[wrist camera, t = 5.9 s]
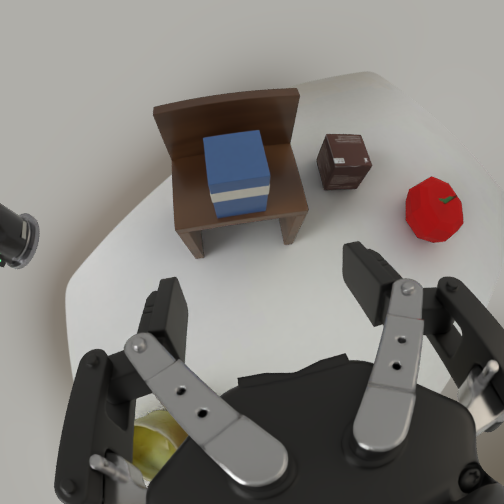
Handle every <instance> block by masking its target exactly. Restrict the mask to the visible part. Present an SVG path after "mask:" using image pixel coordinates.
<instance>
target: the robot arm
mask: <svg viewBox="0 0 504 504" xmlns="http://www.w3.org/2000/svg"><path fill="white" fill-rule="evenodd" d="M31 236H32V229H31V225H30V223H29V221H28V220H26V219H25V218H23V217H21V216H19V215H18V214H16V213H14V212H13V211H11V210H10V209H8V208H7V207H5V206H4V205H2V204H1V203H0V266H1V267H4V266H5V264H6V263H9V264H11V265H14V263H15V262H16V261H18V260H20V259H21V258H22V257H23V256H24V255H25V253H26V252H27V250H28V247H29V245H30V241H31ZM342 273H343V278H344V281H345V283H346V285H347V286H348V288H349V289H350V291H351V292H352V294H353V295H354V297H355V298H356V300H357V301H358V303H359V304H360V306H361V307H362V309H363V311H364V312H365V314H366V315H367V317H368V318H369V320H370V321H371V323H372V325H373V326H374V327H375V326H379V325H382V324H383V326H384V328H383V332H382V336H381V340H380V344H379V348H378V351H377V355H376V359H375V362H374V364H373V363H370V362H366V361H359V360H349V359H348V357H347V355H346V353H345V354H341V355H338V356H334V357H331V358H327V359H323V360H320V361H318V362H316V363H314V364H312V365H310V366H308V367H306V368H304V369H302V370H300V371H297V372H294V373H262V374H257V375H252V376H246V377H240V378H238V386H237V387H234V388H232V389H230V390H228V391H227V392H225V393H224V394H222V395H221V396H218V395H217V394H216V393H215V392H214V391H213V390H212V389H211V388H210V387H208V386H207V385H206V384H205V383H204V382H203V381H202V380H201V379H200V378H199V377H198V376H197V375H196V374H195V373H194V372H192V371H191V370H190V369H189V368H188V367H187V366H186V365H185V350H186V336H187V323H188V308H187V303H186V300H185V298H184V295H183V292H182V289H181V287H180V284H179V281H178V279H177V277H172V278H166V279H161V280H160V284H159V287H158V291H153V292H152V293H151V294H150V295H149V297H148V298H147V299H146V303H145V306H144V307H145V308H144V310H143V314H142V317H141V321H140V324H139V328H138V332H137V334H136V335H134V336H132V337H131V338H130V339H129V340H128V341H127V342H126V344H125V346H124V350H123V351H120V352H118V353H115V354H112V355H109V356H108V355H107V354H106V353H105V351H103V350H101V349H94V350H91V351H89V352H88V353H86V354H85V355H84V356H83V357H82V359H81V360H80V363H79V366H78V370H77V373H76V377H75V380H74V384H73V387H72V391H71V395H70V399H69V403H68V407H67V411H66V416H65V420H64V425H63V430H62V435H61V440H60V446H59V452H58V458H57V465H56V474H55V482H54V488H55V493H56V495H57V497H58V498H59V499H60V501H61V502H63V503H64V504H504V486H502V485H501V484H500V483H498V482H497V481H495V480H494V479H493V478H491V477H490V476H489V475H488V474H487V473H486V472H485V471H484V470H483V469H482V467H481V466H480V463H479V460H478V456H477V448H476V436H478V435H479V434H481V433H482V432H492V431H494V430H495V429H497V428H498V427H499V426H500V425H501V424H502V423H503V422H504V329H503V328H502V327H501V325H500V324H499V323H498V322H497V320H496V319H495V318H494V317H493V316H492V314H491V313H490V312H489V311H488V310H487V309H486V308H485V306H484V305H483V304H482V303H481V302H480V301H479V300H478V299H477V298H476V296H475V295H474V294H473V293H472V292H471V291H470V290H469V289H468V288H467V287H466V286H465V285H464V284H463V283H462V282H461V281H460V280H458V279H456V278H454V277H443V278H441V279H440V280H439V281H438V285H437V287H435V288H422V286H421V285H420V284H419V283H418V282H417V281H415V280H412V279H407V278H404V279H403V278H402V277H401V276H400V275H399V274H398V273H397V272H396V271H395V270H394V269H393V267H392V266H391V265H389V263H388V262H387V261H386V260H384V258H383V257H382V256H381V255H380V254H379V253H377V252H375V251H373V250H371V249H366V248H365V247H364V246H363V245H362V244H361V243H360V242H359V241H356V242H352V243H347V244H344V245H343V268H342ZM454 321H456V322H457V324H458V325H459V326H460V328H461V330H462V336H461V334H460V333H459V332H458V330H457V329H456V328H455V326H454V325H453V323H454ZM423 335H426V336H427V338H428V339H429V341H430V342H431V344H432V345H433V347H434V349H435V350H436V352H437V353H438V355H439V357H440V358H441V360H442V361H443V363H444V365H445V366H446V368H447V370H448V371H449V373H450V375H451V377H452V378H453V380H454V381H455V383H456V385H457V387H458V389H459V390H458V394H457V395H458V396H457V397H458V401H459V402H457V401H455V400H453V399H450V398H448V397H446V396H443V395H441V394H439V393H436V392H434V391H432V390H430V389H428V388H425V387H423V386H421V385H419V384H416V383H417V378H418V371H419V365H420V357H421V349H422V340H423ZM151 393H153V394H154V395H155V396H156V398H157V399H158V400H159V401H160V403H161V404H162V405H163V406H164V408H165V409H166V410H167V411H168V412H169V414H170V415H171V416H172V417H173V418H174V419H175V421H176V422H177V423H178V424H179V425H180V426H181V428H182V429H183V430H184V431H185V432H186V433H187V434H188V436H187V438H186V439H185V440H184V441H183V443H182V444H181V445H180V446H179V448H178V449H177V450H176V451H175V452H174V454H173V455H172V456H171V457H170V459H169V460H168V461H167V462H166V463H165V465H164V466H163V467H162V468H161V469H160V470H159V472H158V473H157V474H156V475H155V476H154V478H153V479H152V480H151V482H150V484H149V486H148V488H147V487H146V485H145V483H144V480H143V475H142V473H141V471H140V470H139V468H137V467H136V466H135V465H133V464H132V463H133V436H134V419H135V407H136V399H137V398H139V397H142V396H145V395H148V394H151Z"/></svg>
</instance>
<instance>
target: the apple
mask: <svg viewBox="0 0 504 504" xmlns="http://www.w3.org/2000/svg"><path fill="white" fill-rule="evenodd" d="M406 221H407V223H408V224H409V226H410V227H411V229H412V230H413V232H414V233H415V235H416V236H417V238H420V239H423V240H426V241H430V242H433V243H435V242H443V241H446V240H447V239H448V238H450V237H451V236H452V235H453V234H454V233H456V232H457V231H458V230H459V228H460V227H461V226H462V224H463V212H462V203H461V201H460V199H459V198H458V196H457V195H456V193H455V192H454V191H453V189H452V188H451V186H450V185H449V184H448V183H446V182H444V181H441V180H439V179H437V178H434V177H432V176H431V177H429V178H428V179H426V180H424V181H423V182H421V183H419V184H418V185H416V186H414V187H412V188H411V189H409V192H408V195H407V199H406Z"/></svg>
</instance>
